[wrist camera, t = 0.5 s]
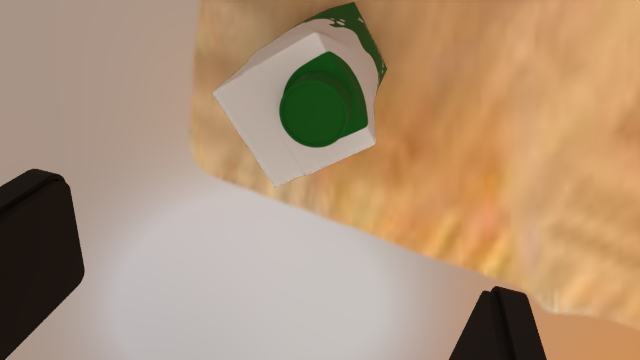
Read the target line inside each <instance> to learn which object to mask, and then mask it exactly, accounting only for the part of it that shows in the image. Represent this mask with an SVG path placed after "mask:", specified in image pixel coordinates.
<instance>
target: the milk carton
mask: <svg viewBox="0 0 640 360" xmlns="http://www.w3.org/2000/svg"><path fill="white" fill-rule="evenodd" d="M386 70H387V68H386V66H385V63H384V61H383V59H382V57H381V55H380V53H379V50H378V48H377V46H376V44H375V42H374V40H373V38H372V36H371V34H370V32H369V30H368V28H367V26H366V24H365V22H364V20H363V19H362V17H361V15H360V13H359V11H358V9H357V7H356V5H355V3H354V2H353V3H350V4H346V5H342V6H338V7H335V8H331V9H328V10H326V11H324V12H321V13H319V14H317V15H315V16H313V17H311V18H309V19H307V20H305V21H304V22H302V23H300V24H298V25H296V26H295V27H293V28H292V29H290V30H289V31H287V32H286V33H284V34H283V35H281V36H280V37H278V38H277V39H275V40H274V41H272V42H271V43H269V44H268V45H266V46H264V47H262V48H261V49H259V50H257V51H256V52H255V53H254V54H253V55H252V56H251V57H250V58H249V60H248V62H247V63H246V64H245V65H244V66H242V67H241V68H240V69H239V70H238V71H237V72H236V73H234V74H233V75H232V76H231V77H230V78H229V79H227V80H226V81H225V82H224V83H223V84H221V85H220V86H219V87H218V88H216V89H215V90H214V91H213V92H212V94H213V95H214V97H215V99H216V100H217V102H218V103H219V105H220V106H221V108H222V109H223V111H224V112H225V114H226V115H227V117H228V118H229V120H230V121H231V123H232V124H233V126H234V127H235V129H236V130H237V132H238V133H239V135H240V136H241V138H242V139H243V141H244V142H245V144H246V146H247V147H248V149H249V150H250V152H251V153H252V155H253V156H254V158H255V159H256V161H257V162H258V164H259V165H260V167H261V168H262V170H263V171H264V173H265V174H266V176H267V177H268V179H269V180H270V182H271V183H272V185H273V186H274V187H277V186H279V185H282V184H284V183H286V182H288V181H291V180H293V179H295V178H298V177H300V176H302V175H305V176H307V175H309V174H312V173H314V172H316V171H318V170H320V169H322V168H324V167H326V166H328V165H331V164H333V163H335V162H337V161H340V160H342V159H344V158H346V157H349V156H351V155H353V154H355V153H358V152H360V151H362V150H364V149H367V148H369V147H371V146H373V145H375V143H376V133H375V118H374V101H375V97H376V94H377V90H378V87H379V85H380V83H381V81H382V79H383V77H384V75H385V72H386Z"/></svg>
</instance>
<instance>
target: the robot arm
mask: <svg viewBox="0 0 640 360" xmlns="http://www.w3.org/2000/svg"><path fill="white" fill-rule="evenodd" d="M83 276H84V264H83V258H82V252H81V247H80V241H79V236H78V230H77V224H76V219H75V213H74V207H73V202H72V196H71V190H70V187H69V185H68V184H67V183H66V182H65V180H64V178H63V177H62V176H61V175H59V174H55V173H51V172H47V171H43V170H39V169H31V170H28V171H26V172H25V173H23V174H21V175H19V176H18V177H16V178H14V179H13V180H11V181H9V182H8V183H6V184H4V185H2V186H1V187H0V360H5V359H6V358H7V357H8V356H9V355H10V354H11V353H12V352H13V351H14V350H15V349H16V348H17V347H18V346H19V345H20V344H21V343H22V342H23V341H24V340H25V339H26V338H27V337H28V336H29V335H30V334H31V333H32V332H33V331H34V330H35V329H36V328H37V327H38V326H39V325H40V324H41V323H42V322H43V320H44V319H46V318H47V317H48V316H49V315H50V313H52V312H53V311H54V309H56V307H58V306H59V304H60V303H62V301H63V300H64V299H65V298H66V297H67V296H68V295H69V294H70V293H71V292H72V291H73V290H74V289H75V288H76V287H77V286H78V285H79V284H80V283H81V281H82V279H83ZM449 360H547V359H546V356H545V353H544V349H543V346H542V343H541V340H540V336H539V333H538V330H537V326H536V323H535V320H534V316H533V313H532V310H531V307H530V304H529V300H528V298H527V295H526V294H524V293H522V292H518V291H514V290H510V289H506V288H502V287H498V286H495V287H494V288H493V289H492V290H491V292H489V291H483V292H482V293H481V295H480V297H479V299H478V301H477V303H476V305H475V307H474V309H473V311H472V313H471V315H470V317H469V320H468V322H467V324H466V326H465V328H464V330H463V332H462V334H461V336H460V338H459V340H458V342H457V344H456V346H455V348H454V350H453V352H452V354H451V356H450V358H449Z"/></svg>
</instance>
